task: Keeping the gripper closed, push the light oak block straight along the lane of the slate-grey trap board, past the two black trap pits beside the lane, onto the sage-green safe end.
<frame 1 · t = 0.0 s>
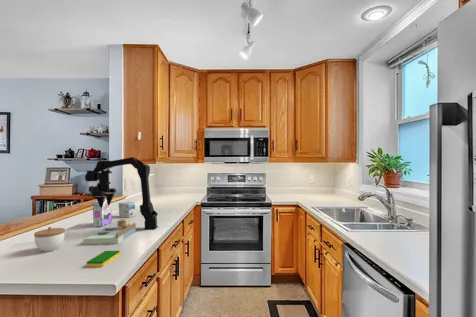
hand: (105, 206, 176), 15 cm above the worktop, tool pointing down, fingers open, 9 cm apart
oak block: (123, 228, 165), point 3 cm above the worktop, touching trap board
trap board: (111, 237, 157), on the worktop
lidded bowl: (50, 249, 140), on the worktop
dish sponge: (104, 262, 121), on the worktop
light bulb box: (127, 216, 216), on the worktop
candy box: (103, 225, 191), on the worktop
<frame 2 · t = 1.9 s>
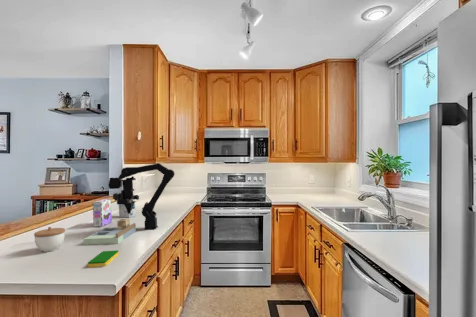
hand: (129, 213, 173), 10 cm above the worktop, tool pointing down, fingers closed
nothing on the worktop moved.
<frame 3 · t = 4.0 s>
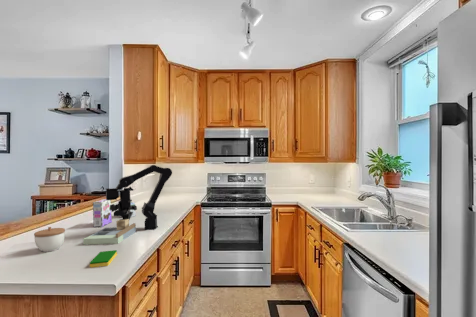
hand: (126, 224, 168), 4 cm above the worktop, tool pointing down, fingers closed
oak block: (123, 228, 164), point 3 cm above the worktop, touching gripper
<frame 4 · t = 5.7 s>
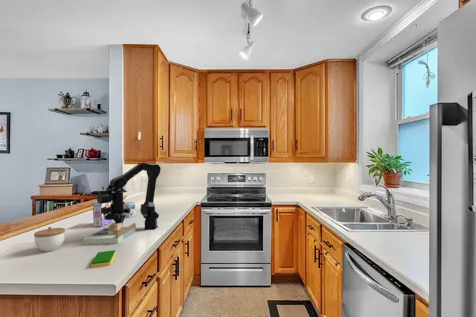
hand: (119, 229, 159), 4 cm above the worktop, tool pointing down, fingers closed
oak block: (115, 233, 154), point 3 cm above the worktop, touching gripper
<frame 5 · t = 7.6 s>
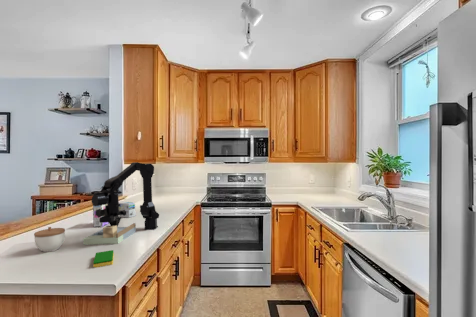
hand: (114, 231, 153), 4 cm above the worktop, tool pointing down, fingers closed
oak block: (110, 236, 148), point 3 cm above the worktop, touching gripper, trap board
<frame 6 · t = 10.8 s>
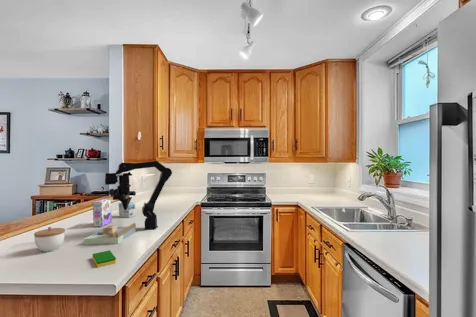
hand: (125, 209, 169), 13 cm above the worktop, tool pointing down, fingers closed
oak block: (110, 236, 148), point 3 cm above the worktop, touching trap board
at the end: oak block inside the target area (0.4 cm from its centre), point 3.0 cm above the worktop; oak block tilted 0° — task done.
